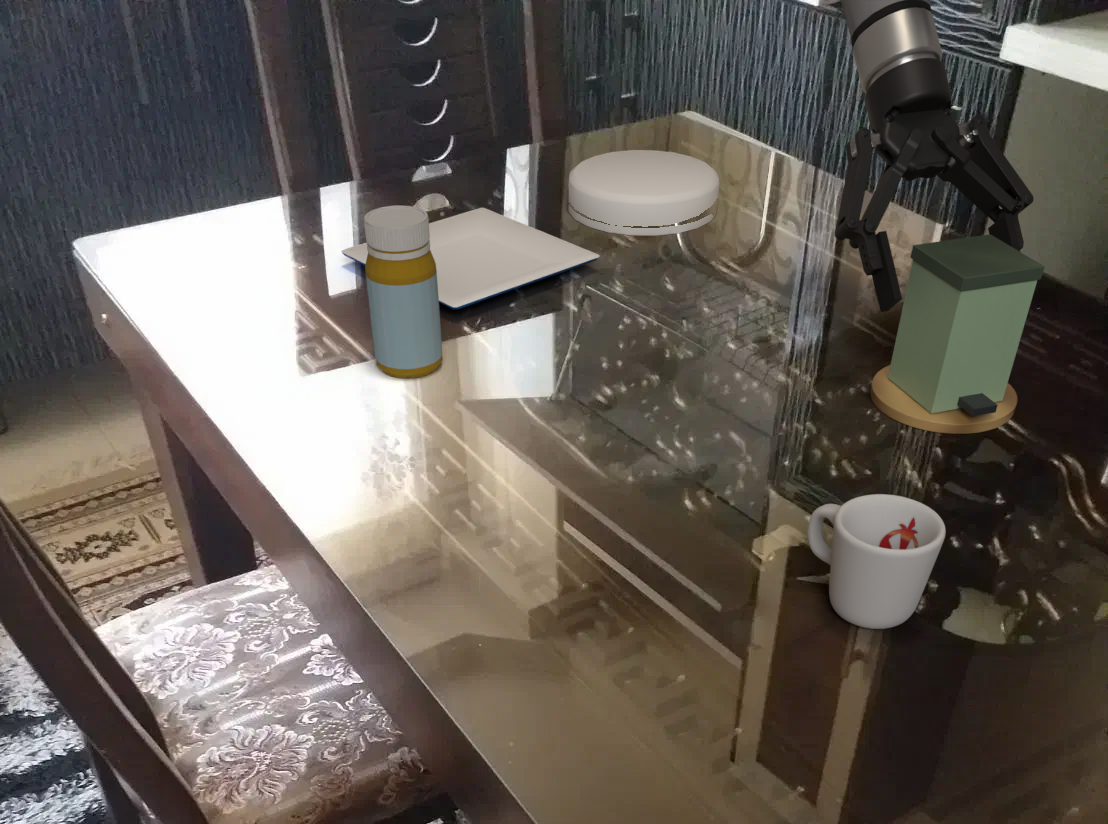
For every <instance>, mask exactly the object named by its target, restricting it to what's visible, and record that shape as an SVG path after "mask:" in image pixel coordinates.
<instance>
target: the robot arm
mask: <svg viewBox="0 0 1108 824" xmlns="http://www.w3.org/2000/svg"><path fill="white" fill-rule="evenodd" d="M840 3H841V6H842V10H843V14H844V17H845V21H846V24H847V28H848V31H849V35H850V44H851V48H852V52H853V55H854V56H853V57H854V61H855V65H856V70H857V74H858V78H859V82H860V86H861V91H862V92H863V93H864V94H865V95H864V105H865V109H866V114H867V118H868V122H869V127H870V129H868V128H867V127H865V126H863V127H860V128H859V129H858V131H857V132H855V134H854V135H853V136H852V137H851V139H849V141H848V142H847V144H846V145H845V146H846V147H845V148H846V149H845V150H846V157H847V171H846V176H845V182H844V185H843V191H842V195H841V200H840V204H839V209H838V214H837V220H836V223H835V229H834V237H835V239H837V240H838V241H841V242H842V241H844V240H845V239H846V240H849V241H848V243H849V246H850V247H851V248H852V249H854V250H855V249H856V250H857V249H858V253H859V256H860V260H861V264H862V265H861V266H862V270H863V273H864V274H865V276H866V277H868V276H871V278H872V282H873V286H874V287H873V288H874V291H875V295H876V299H877V304H878V308H879V312H880V313H887V312H889V311H890V310H891V309H892V308H894V307H895V306H896V305H897V304H898V303H900V302H901V301H902V300H903V296H902V292H901V288H900V283H899V279H898V274H897V270H896V266H895V262H894V258H893V255H892V254H893V253H892V248H891V245H890V241H889V236H888V233H887V230H883V231H882V230H881V231H878V232H876V231H877V230H878V228H879V226H880V224H881V222H882V219H883V218H884V216H885V213H886V211H887V209H888V208H889V205H890V203H891V201H892V198H893V197H894V195H895V193H896V191H897V188H898V186H899V184H900V182H901V180H902V179H904V181H905V182H910V181H914V180H916V179H919V178H921V179H933V178H935V177H938V178H939V179H940V180H941V181H942V182H944V183H947V182H948V183H950V184H951V185H952V186H954V188H956V189H957V190H958V191H959V192H960V193H961V194H962V195H963V196H964V197H966V198H967V199H968V200H969V201H970V203H972V204H973V205H974V206H975V207H976V208H977V209H978V210H980V211H981V212H982V213H983V214H984V215H985V216H987V217H988V219H990V220H991V221H992V222H993V224H992V225H990V226H988V228H987V231H988V235H989V234H991V235H992V236H994V237H996V238H997V239H999V240H1001V241H1002V242H1004V243H1006V244H1007V245H1009V246H1011V247H1013V248H1014V249H1016V250H1018V251H1019V252H1021V250H1022V249H1023V248H1024V243H1025V241H1024V237H1023V233H1022V229H1021V224H1020V220H1019V214H1020V213H1022V212H1023V211H1024V210H1025V209H1027V208H1028V207H1029V206H1030V205H1032V204H1033V202H1034V195H1033V194H1032V192H1031V191H1030V189H1029V188H1028V186H1027V185H1026V183H1025V182H1024V180H1023V179H1022V178H1021V176H1019V175H1020V174H1018V173H1017V171H1016V170H1015V168H1014V167H1013V165H1012V164H1011V162H1010V161H1009V160H1008V158H1007V156H1006V155H1005V154H1004V153H1003V151H1002V150H1001V148H1000V147H999V146H998V144H997V143H996V142H995V140H994V139H993V138H992V136H991V133H990V130H989V127H988V125H987V122H986V119H985V117H984V116H983V115H982V114H980V113H978V114H975V115H974V116H973V117H972V118H971V119H970V120H969V121H966V122H962V123H957V122H956V120H955V119H954V117H953V115H952V101H953V100H952V99H953V97H952V91H951V86H950V82H949V78H948V74H947V70H946V66H945V64H944V63H943V62H942V59H943V50H942V47H941V43H940V39H939V35H938V31H937V27H936V23H935V20H934V19H935V18H934V16H933V12H932V6H931V2H930V0H840ZM870 131H871V132H870ZM874 154H877V155H878V156H879V157H880V158H881V159H882V160H883V162H884V163H886V165H885V166H884V169H883V171H882V173H881V175H880V176H879V178H878V180H877V185H876V188H875V189H874V192H873V194H872V195H871V198H870V200H869V202H868V205H867V206H866V209H865V210H864V213H863V215H862V217H861V214H862V209H863V204H864V199H865V194H866V190H867V184H868V179H869V174H870V170H871V165H872V160H873V155H874ZM951 158H952V159H953V160H954V161H953V162H952V163H951V164H950V165H949V163H950V161H951ZM860 218H861V219H860ZM1021 253H1022V252H1021Z"/></svg>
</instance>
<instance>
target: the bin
mask: <svg viewBox="0 0 1108 824" xmlns="http://www.w3.org/2000/svg"><path fill="white" fill-rule="evenodd" d="M910 259H911V260H912V263H911V266H910V271H909V277H908V281H907V286H906V290H905V295H904V300H903V305H902V310H901V314H900V318H899V319H900V320H899V323H898V328H897V332H896V338H895V342H894V347H893V351H892V355H891V356H892V357H891V361H890V364H889V365H890V370H889V375H888V378H889V379H890V380H891V381H892V382H894V383H895V384H896V385H897V386H898V387H900V388H901V389H902V390H903V391H905V392H906V393H907V394H908V395H909V396H911V397H912V398H913V399H914V400H915V401H917V402H918V403H919V404H920V405H922V406H923V407H924V408H925V409H926V410H928V411H929V412H930V413H937V412H943V411H948V410H954V409H959V408H962V409H964V410H965V411H966V412H967V413H969V414H970V415H971V416H978V415H984V414H989V413H995V412H996V409H997V406H998V405H997V404H996V403H995V402H998V401H1002V400H1003V397H1004V394H1005V390H1006V387H1007V383H1009V379H1010V377H1011V373H1012V369H1013V367H1014V362H1015V359H1016V355H1017V352H1018V349H1019V345H1020V342H1021V338H1022V334H1023V332H1024V328H1025V325H1026V322H1027V317H1028V314H1029V310H1030V307H1031V304H1032V300H1033V296H1034V293H1035V291H1036V286H1037V283H1038V281H1039V280H1040V281H1041V280H1042V277H1043V274H1044V270H1045V265H1043V264H1041V263H1039V262H1038V261H1036V260H1035V259H1033V258H1031V257H1030V256H1027V254H1024V253H1022V252H1019V251H1018V250H1016V249H1014V248H1013V247H1011V246H1009V245H1007V244H1006V243H1004V242H1002V241H1001V240H999V239H997V238H996V237H994V236H992V235H991V234H989V233H988V234H982V235H976V236H975V235H974V236H968V237H962V238H953V239H947V240H940V241H933V242H925V243H918V244H913V245H912V248H911V253H910Z"/></svg>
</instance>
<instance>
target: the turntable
mask: <svg viewBox="0 0 1108 824" xmlns="http://www.w3.org/2000/svg"><path fill="white" fill-rule="evenodd" d="M890 365H891V364H889V365H887V366H885V367H882V369H879V371H877V372H876V374H874V376H873V378H872V379H871V380H872V381H871V385H870V389H869V396H870V400H871V401H872V403H873V405H874V406H875V407H876V408H877V409H878V410H879V411H880V412H881V413H882V414H884V415H885V416H887V417H888V418H890V419H892V420H894V421H896V422H898V423H901V424H903V425H905V426H909V427H912V428H915V429H918V430H923V431H926V432H927V431H928V432H933V433H941V434H950V435H951V434H952V435H966V434H977V433H983V432H988V431H991V430H995V429H997V428H999V427H1002V426H1003V425H1006V424H1007V423H1008V422H1009V421H1010V420H1011V419H1012V417H1013V416H1014V414H1015V412H1016V408H1017V404H1018V395H1017V392H1016V390H1015V389H1014V388H1013V386H1012V385H1011V384H1010V383H1009V382H1008V383H1007V387H1006V390H1005V394H1004V397H1003V400H1002V401H998V402H995V403H996V404H997V405H998V406H997V409H996V412H995V413H989V414H984V415H978V416H971V415H970V414H969V413H967V412H966V411H965V410H964V409H962V408H959V409H954V410H948V411H943V412H937V413H930V412H929V411H928V410H926V409H925V408H924V407H923V406H922V405H920V404H919V403H918V402H917V401H915V400H914V399H913V398H912V397H911V396H909V395H908V394H907V393H906V392H905V391H903V390H902V389H901V388H900V387H898V386H897V385H896V384H895V383H894V382H892V381H891V380H890V379H889V378H888V375H889V370H890Z"/></svg>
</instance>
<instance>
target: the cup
mask: <svg viewBox="0 0 1108 824" xmlns="http://www.w3.org/2000/svg"><path fill="white" fill-rule="evenodd" d="M825 519H827V520H828V521H829V522H830V523H831V525H832V526H833V530H832V543H831V547H830V546H829V545H828V544H827V543H826V541H825V539H824V535H823V526H824V525H823V524H824V521H825ZM946 533H947V532H946V525H945V523H944V520H943V519H942V517H941V516H940V515H939V514H938V512H936V511H935V510H934V509H932V508H931V507H930V506H928V505H926V504H924V503H922V502H920V501H917V500H915V499H912V498H909V497H905V496H901V495H894V494H886V493H885V494H884V493H875V494H874V493H873V494H865V495H861V496H857V497H854V498H851V499H849V500H848V501H846V502H844V503H843V504H842V505H840V504H835V503H826V504H823V505H821V506H818V507H817V508H816V509H815V510H814V511H813V512H812V513H811V515H810V517H809V520H808V524H807V541H808V545H809V548H810V550H811V552H812V553H813V554H814V555H815V556H816V557H817V558H818V559H819V560H821V561H823V562H824V563H825V564H827V565H829V566H830V568H829V580H828V581H829V583H828V595H829V596H828V597H829V601H830V604H831V607H832V608H833V610H834V612H836V615H838V616H839V617H840V618H841V619H843V620H844V621H846V622H848V623H850V624H852V625H854V626H857V627H860V628H863V629H864V628H865V629H869V630H870V629H871V630H886V629H891V628H894V627H897V626H900V625H902V624H904V623H905V622H906V621H908V620H909V618H910V617H912V616H913V614H914V612H915V611H916V609H917V607H918V605H919V603H920V601H921V598H922V596H923V593H924V591H925V589H926V586H927V583H928V581H929V578H930V576H931V573H932V572H933V568H934V566H935V563H936V561H937V559H938V556H939V553H940V551H941V549H942V547H943V543H944V541H945V538H946Z"/></svg>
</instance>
